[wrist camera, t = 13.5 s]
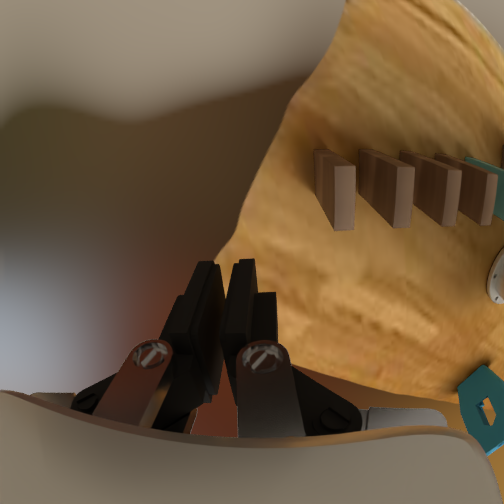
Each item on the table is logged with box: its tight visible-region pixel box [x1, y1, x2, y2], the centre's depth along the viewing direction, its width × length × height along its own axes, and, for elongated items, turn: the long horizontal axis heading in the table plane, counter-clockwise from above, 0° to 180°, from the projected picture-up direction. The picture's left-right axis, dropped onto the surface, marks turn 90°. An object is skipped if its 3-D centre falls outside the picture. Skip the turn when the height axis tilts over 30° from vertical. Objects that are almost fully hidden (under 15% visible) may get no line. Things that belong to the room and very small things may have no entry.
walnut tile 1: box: [314, 149, 356, 231], centre depth 25 cm, size 2×5×10 cm, turn 5°
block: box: [457, 365, 504, 456], centre depth 37 cm, size 12×5×20 cm, turn 150°
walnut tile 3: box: [400, 151, 462, 227], centre depth 24 cm, size 2×5×10 cm, turn 5°
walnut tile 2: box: [359, 149, 415, 228], centre depth 24 cm, size 2×5×10 cm, turn 5°
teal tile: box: [465, 157, 504, 221], centre depth 23 cm, size 2×5×10 cm, turn 5°
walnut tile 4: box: [435, 153, 498, 226], centre depth 23 cm, size 2×5×10 cm, turn 5°
